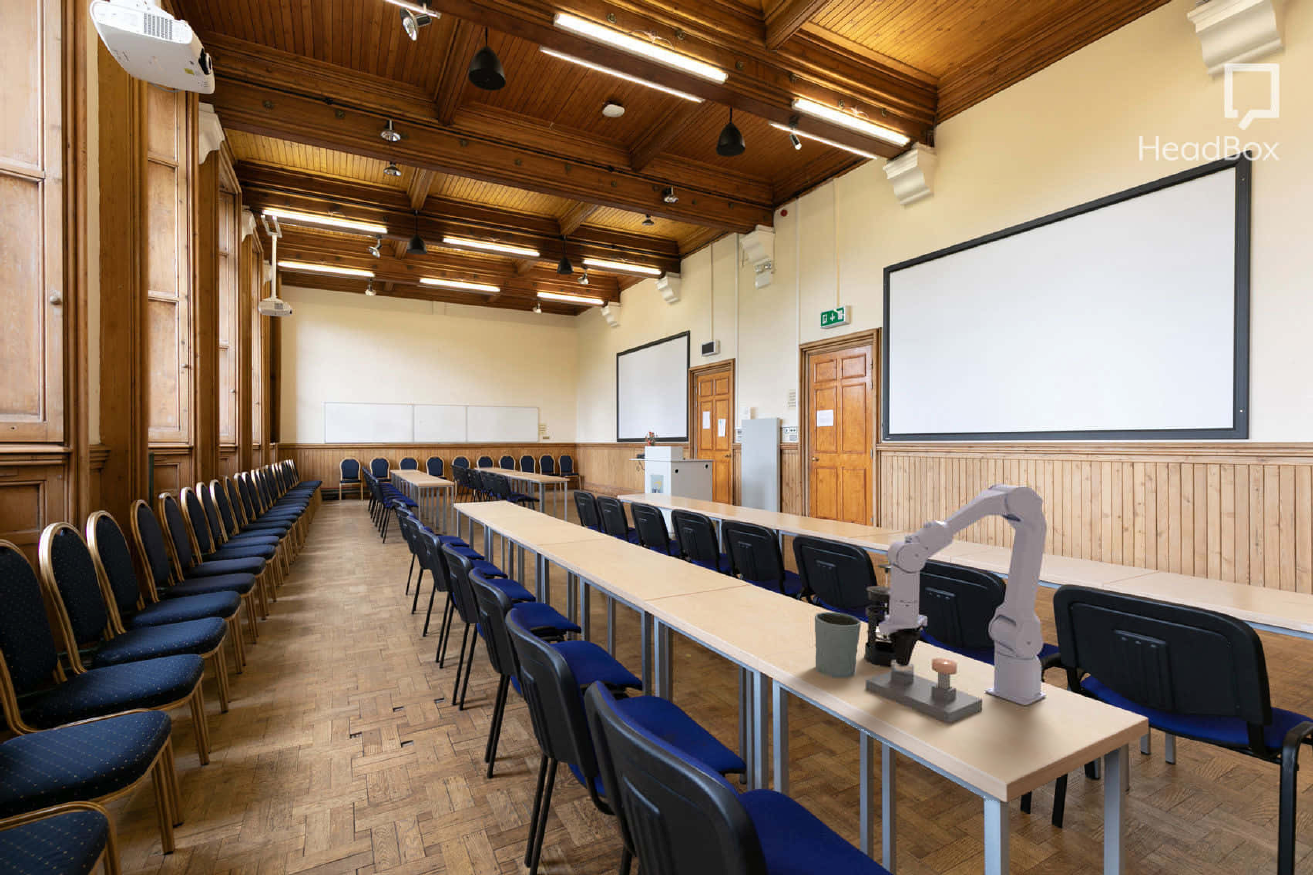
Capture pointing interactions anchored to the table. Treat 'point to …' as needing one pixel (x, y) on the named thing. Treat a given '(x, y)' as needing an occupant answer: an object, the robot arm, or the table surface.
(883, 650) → the french press
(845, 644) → the grey green cup
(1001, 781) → the table surface
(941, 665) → the peach knob
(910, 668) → the steel plunger
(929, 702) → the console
